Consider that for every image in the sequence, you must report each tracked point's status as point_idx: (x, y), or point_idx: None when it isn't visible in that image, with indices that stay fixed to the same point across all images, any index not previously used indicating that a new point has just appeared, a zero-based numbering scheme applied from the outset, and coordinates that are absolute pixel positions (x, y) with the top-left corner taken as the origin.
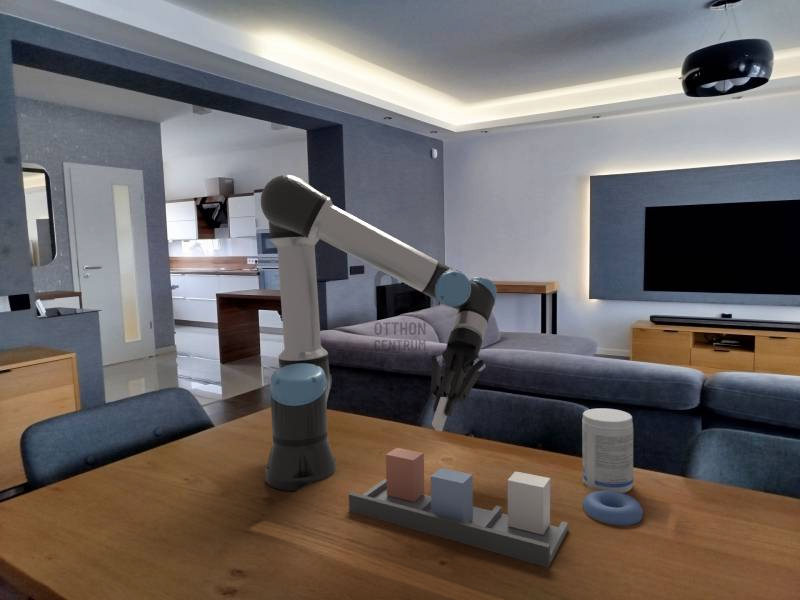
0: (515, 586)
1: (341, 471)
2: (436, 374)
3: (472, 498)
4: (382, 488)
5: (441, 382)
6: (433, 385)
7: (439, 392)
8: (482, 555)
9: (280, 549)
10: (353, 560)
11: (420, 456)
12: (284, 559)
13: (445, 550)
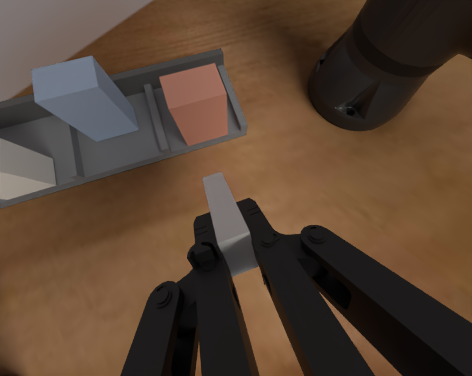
0: None
1: (335, 132)
2: (462, 367)
3: (73, 126)
4: (235, 116)
5: (325, 309)
6: (346, 258)
7: (275, 246)
8: None
9: (219, 12)
10: (159, 40)
11: (166, 99)
12: (203, 8)
13: None
